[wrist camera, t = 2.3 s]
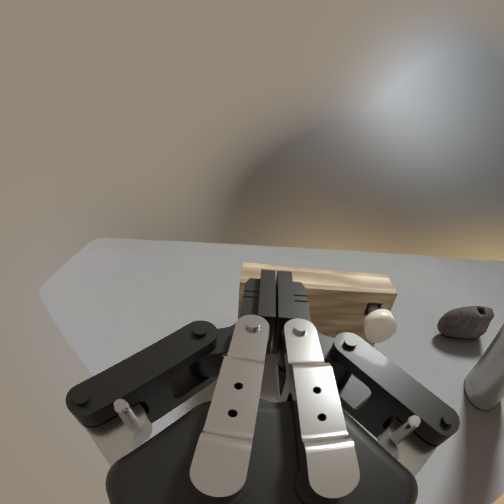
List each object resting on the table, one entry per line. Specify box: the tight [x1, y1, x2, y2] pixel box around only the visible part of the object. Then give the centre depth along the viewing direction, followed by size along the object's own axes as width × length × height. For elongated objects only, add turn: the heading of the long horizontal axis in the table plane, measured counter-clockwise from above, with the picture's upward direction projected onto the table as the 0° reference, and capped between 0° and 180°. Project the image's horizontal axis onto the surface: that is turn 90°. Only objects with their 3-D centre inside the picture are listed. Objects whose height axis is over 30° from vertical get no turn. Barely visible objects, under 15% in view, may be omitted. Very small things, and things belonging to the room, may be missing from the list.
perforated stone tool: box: [437, 306, 494, 339], centre depth 40 cm, size 15×5×7 cm, turn 78°
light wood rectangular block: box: [238, 262, 397, 349], centre depth 39 cm, size 5×22×12 cm, turn 86°
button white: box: [363, 303, 397, 343], centre depth 34 cm, size 6×4×4 cm
